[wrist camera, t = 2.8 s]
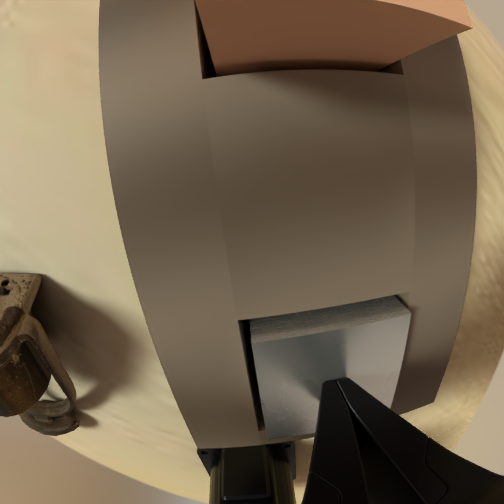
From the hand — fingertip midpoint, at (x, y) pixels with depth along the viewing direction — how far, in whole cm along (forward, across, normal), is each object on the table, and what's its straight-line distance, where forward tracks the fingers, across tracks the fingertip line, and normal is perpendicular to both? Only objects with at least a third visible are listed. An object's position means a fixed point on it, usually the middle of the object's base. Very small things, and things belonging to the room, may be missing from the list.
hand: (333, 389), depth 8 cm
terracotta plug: (+2, 0, -11) cm, 11 cm away
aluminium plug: (+5, 0, 0) cm, 5 cm away
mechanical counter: (+6, +17, +2) cm, 18 cm away
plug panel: (+6, 0, -6) cm, 8 cm away
